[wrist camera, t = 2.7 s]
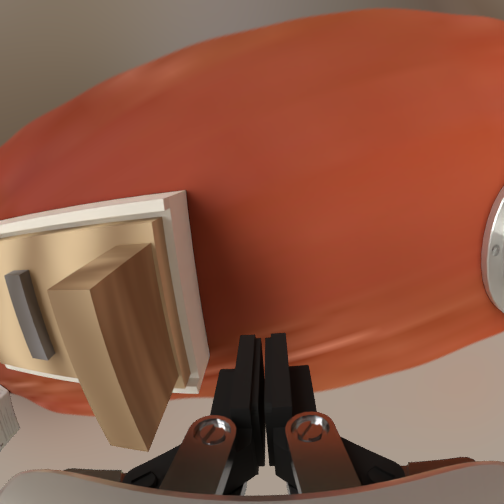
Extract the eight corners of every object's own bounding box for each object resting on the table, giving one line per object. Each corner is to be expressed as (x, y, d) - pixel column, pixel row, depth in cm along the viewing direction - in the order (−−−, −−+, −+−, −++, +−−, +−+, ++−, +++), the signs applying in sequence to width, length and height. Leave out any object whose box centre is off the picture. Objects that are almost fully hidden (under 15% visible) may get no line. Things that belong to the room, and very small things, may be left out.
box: (185, 190, 19) (163, 198, 15) (209, 355, 23) (198, 393, 18) (-3, 221, 21) (-37, 233, 17) (32, 344, 24) (6, 368, 20)
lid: (162, 216, 16) (87, 259, 9) (190, 373, 19) (158, 464, 12) (-24, 242, 18) (-93, 273, 10) (11, 353, 20) (-40, 402, 13)
